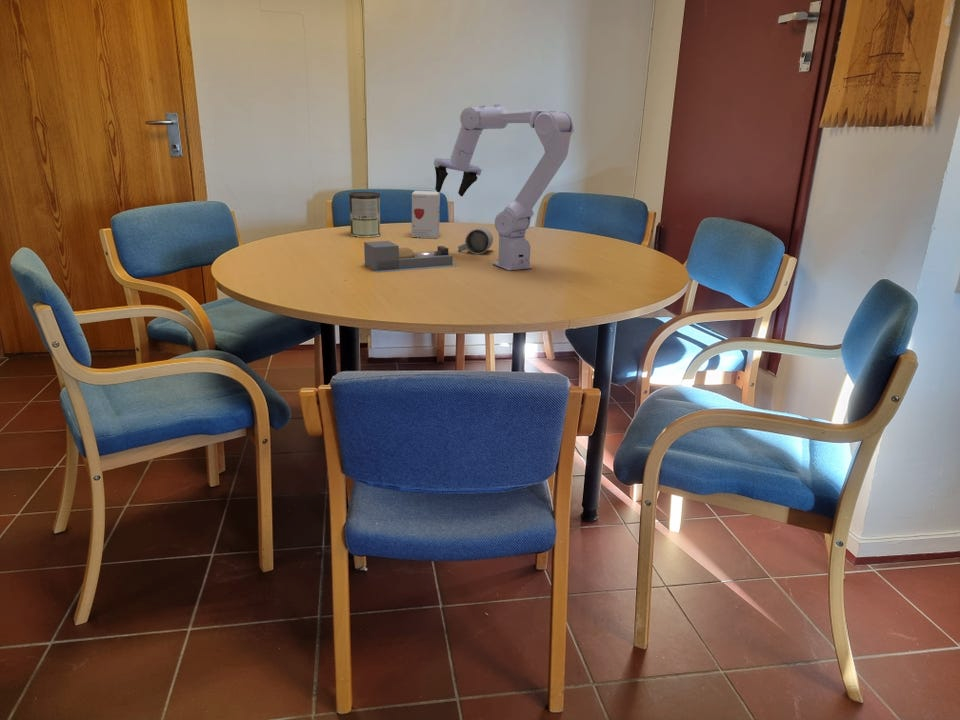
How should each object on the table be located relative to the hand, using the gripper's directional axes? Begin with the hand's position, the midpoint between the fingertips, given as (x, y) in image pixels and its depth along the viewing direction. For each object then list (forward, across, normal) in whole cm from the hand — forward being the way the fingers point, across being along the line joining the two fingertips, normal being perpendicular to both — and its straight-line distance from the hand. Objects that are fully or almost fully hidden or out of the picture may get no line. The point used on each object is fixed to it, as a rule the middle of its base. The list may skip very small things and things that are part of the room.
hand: (448, 192), depth 205 cm
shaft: (+14, +8, +17) cm, 23 cm away
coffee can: (+34, +8, -32) cm, 47 cm away
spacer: (+16, +15, +17) cm, 28 cm away
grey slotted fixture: (+16, +12, +17) cm, 27 cm away
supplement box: (+27, -10, -25) cm, 38 cm away
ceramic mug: (+16, -14, +4) cm, 21 cm away
